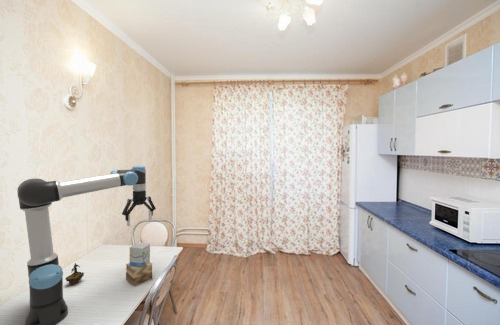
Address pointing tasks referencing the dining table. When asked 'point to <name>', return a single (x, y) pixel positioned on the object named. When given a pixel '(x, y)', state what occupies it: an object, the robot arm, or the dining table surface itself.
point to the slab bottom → (138, 279)
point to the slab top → (138, 270)
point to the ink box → (139, 254)
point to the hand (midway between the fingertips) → (139, 223)
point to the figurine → (74, 275)
